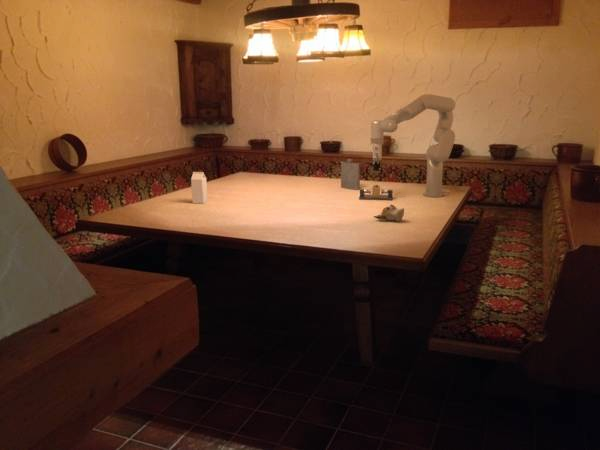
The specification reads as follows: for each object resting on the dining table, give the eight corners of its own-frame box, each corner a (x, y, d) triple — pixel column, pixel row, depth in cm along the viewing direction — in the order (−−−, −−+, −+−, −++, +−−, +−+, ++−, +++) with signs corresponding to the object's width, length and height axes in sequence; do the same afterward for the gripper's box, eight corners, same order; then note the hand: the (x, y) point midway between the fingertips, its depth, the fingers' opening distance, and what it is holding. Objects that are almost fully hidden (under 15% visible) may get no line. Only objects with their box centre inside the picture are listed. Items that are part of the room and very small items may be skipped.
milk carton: (203, 203, 323) (201, 173, 318) (192, 203, 324) (190, 172, 320) (207, 201, 330) (205, 171, 325) (197, 201, 331) (195, 170, 326)
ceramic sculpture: (399, 207, 266) (372, 205, 274) (400, 224, 268) (373, 222, 276) (407, 203, 274) (381, 202, 283) (408, 219, 276) (381, 218, 285)
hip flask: (360, 189, 356) (360, 160, 351) (356, 190, 353) (356, 160, 348) (343, 186, 367) (343, 157, 362) (339, 187, 365) (339, 158, 359)
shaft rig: (392, 197, 330) (392, 187, 328) (392, 200, 321) (392, 190, 320) (360, 196, 334) (360, 187, 332) (359, 199, 326) (359, 189, 324)
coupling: (379, 195, 329) (380, 184, 327) (379, 196, 325) (379, 186, 323) (372, 195, 330) (372, 184, 328) (372, 196, 326) (372, 185, 324)
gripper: (382, 142, 310) (381, 171, 314) (384, 139, 326) (383, 167, 330) (369, 142, 311) (369, 171, 316) (371, 139, 328) (371, 167, 332)
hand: (376, 169), depth 323 cm, fingers open, 9 cm apart
